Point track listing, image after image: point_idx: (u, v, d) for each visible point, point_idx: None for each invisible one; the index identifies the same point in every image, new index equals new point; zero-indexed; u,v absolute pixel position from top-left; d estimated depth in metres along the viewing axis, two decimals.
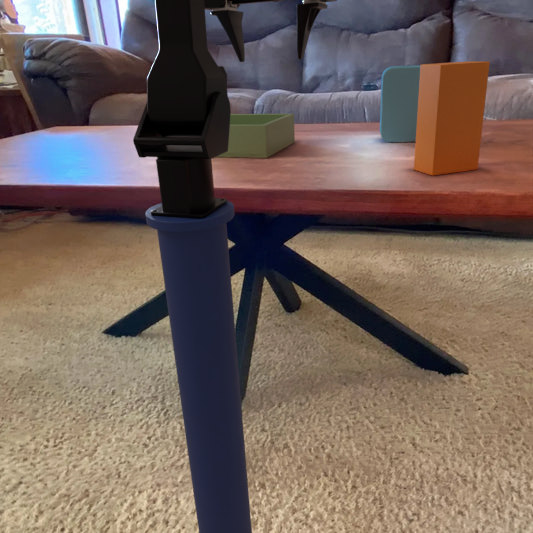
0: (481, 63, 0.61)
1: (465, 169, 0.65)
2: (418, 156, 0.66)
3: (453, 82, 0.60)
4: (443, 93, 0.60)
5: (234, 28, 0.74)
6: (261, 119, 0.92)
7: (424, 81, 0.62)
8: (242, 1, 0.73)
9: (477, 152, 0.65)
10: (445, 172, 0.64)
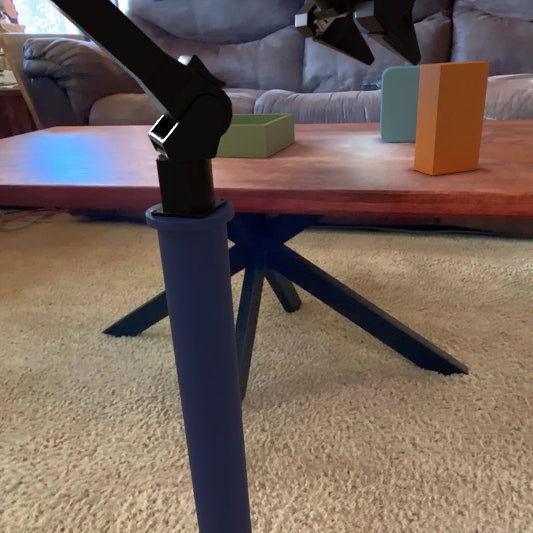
0: (481, 63, 0.61)
1: (465, 169, 0.65)
2: (418, 156, 0.66)
3: (453, 82, 0.60)
4: (443, 93, 0.60)
5: (341, 44, 0.62)
6: (261, 119, 0.92)
7: (424, 81, 0.62)
8: None
9: (477, 152, 0.65)
10: (445, 172, 0.64)
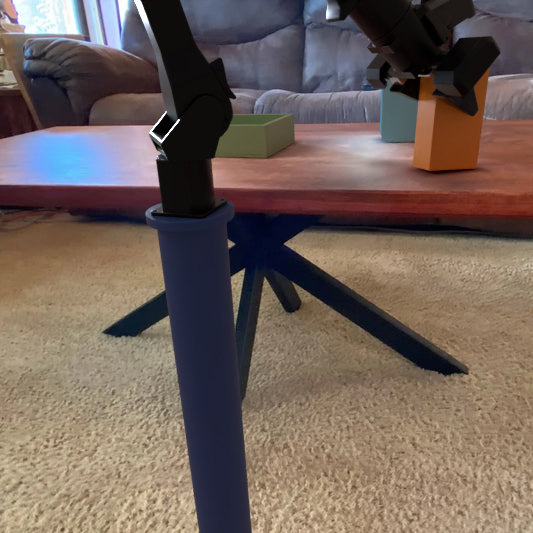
0: None
1: (463, 167, 0.65)
2: (417, 152, 0.66)
3: None
4: None
5: None
6: (261, 119, 0.92)
7: (425, 77, 0.63)
8: None
9: (476, 151, 0.65)
10: (442, 168, 0.65)
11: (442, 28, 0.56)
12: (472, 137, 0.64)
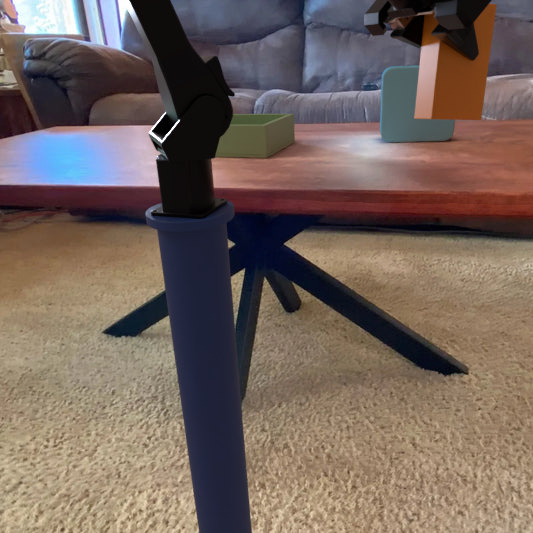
0: None
1: (467, 118, 0.62)
2: (419, 102, 0.64)
3: None
4: None
5: (421, 40, 0.62)
6: (261, 119, 0.92)
7: (428, 22, 0.61)
8: None
9: (481, 101, 0.62)
10: (445, 117, 0.62)
11: None
12: (477, 86, 0.62)
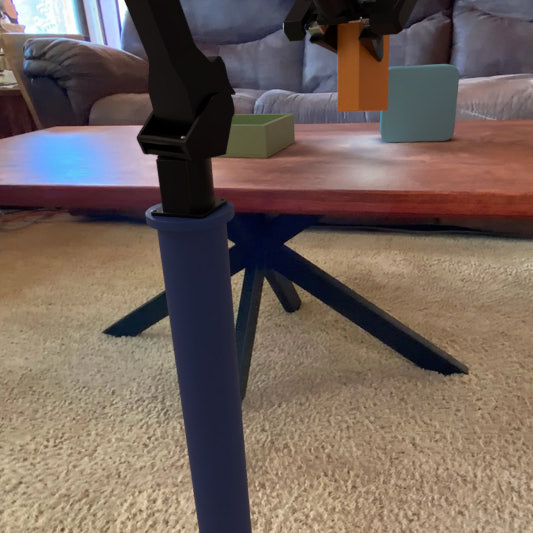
0: None
1: (380, 109, 0.76)
2: (341, 98, 0.74)
3: None
4: None
5: (337, 45, 0.73)
6: (261, 119, 0.92)
7: (343, 29, 0.72)
8: None
9: (386, 95, 0.76)
10: (367, 109, 0.74)
11: None
12: (383, 82, 0.75)
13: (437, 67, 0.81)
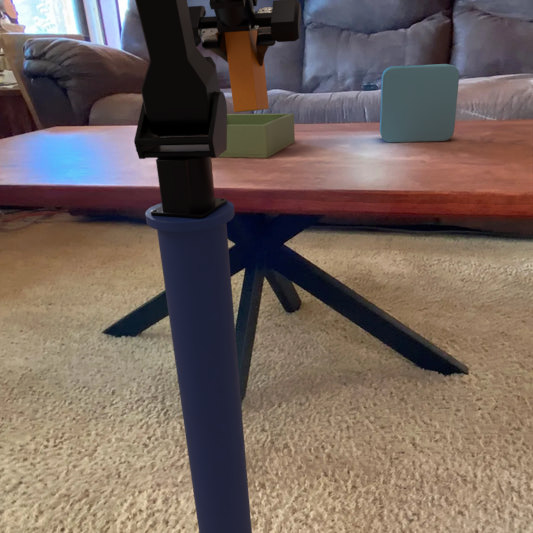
0: None
1: (265, 107, 0.86)
2: (237, 99, 0.82)
3: (252, 36, 0.80)
4: (251, 43, 0.79)
5: (226, 51, 0.80)
6: (261, 119, 0.92)
7: (231, 37, 0.79)
8: None
9: (267, 95, 0.87)
10: (260, 108, 0.83)
11: None
12: (264, 84, 0.86)
13: (437, 67, 0.81)
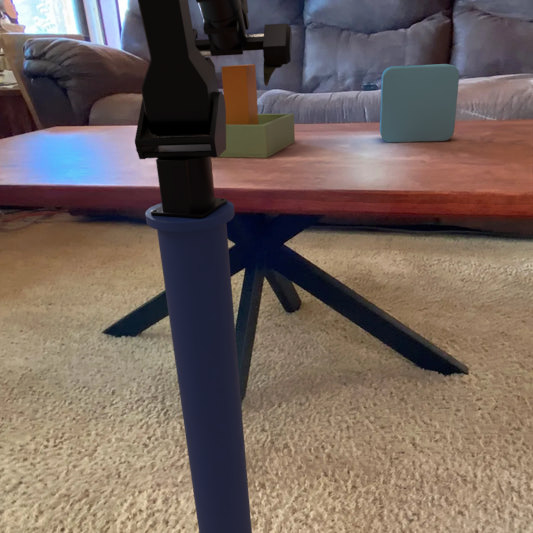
0: (253, 65, 0.84)
1: None
2: None
3: (249, 78, 0.82)
4: (248, 87, 0.81)
5: None
6: (261, 119, 0.92)
7: (228, 79, 0.80)
8: (205, 51, 0.79)
9: None
10: None
11: (247, 17, 0.76)
12: (256, 120, 0.88)
13: (437, 67, 0.81)
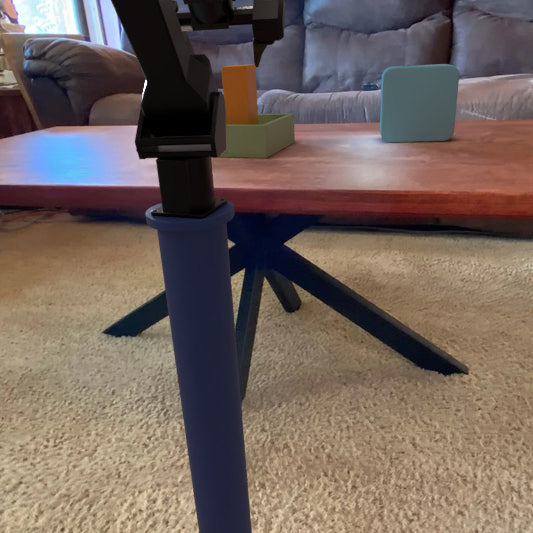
0: (253, 65, 0.84)
1: None
2: None
3: (249, 78, 0.82)
4: (248, 87, 0.81)
5: None
6: (261, 119, 0.92)
7: (228, 79, 0.80)
8: None
9: None
10: None
11: None
12: (256, 120, 0.88)
13: (437, 67, 0.81)
